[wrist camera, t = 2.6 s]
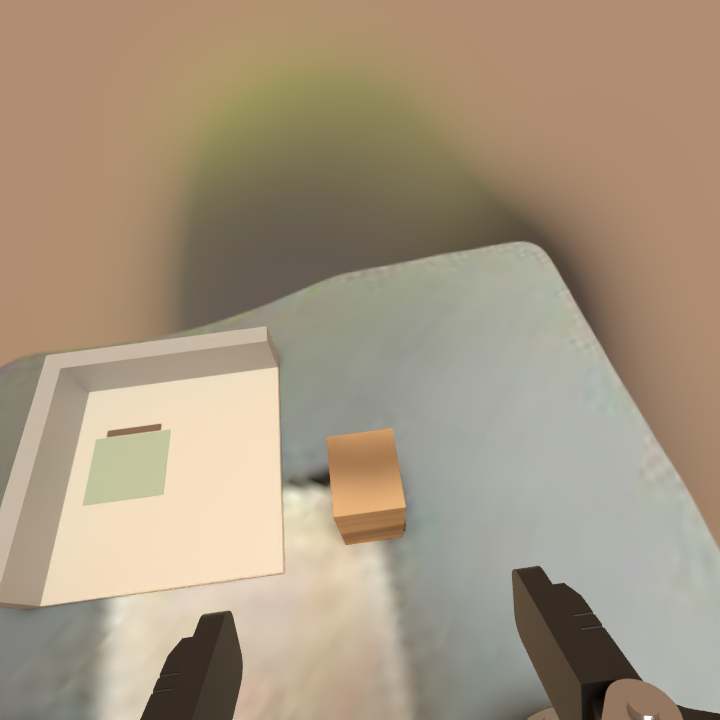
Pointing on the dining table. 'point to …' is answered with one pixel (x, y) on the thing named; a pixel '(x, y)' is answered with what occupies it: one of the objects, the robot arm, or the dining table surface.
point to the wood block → (366, 486)
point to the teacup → (545, 715)
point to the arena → (146, 472)
